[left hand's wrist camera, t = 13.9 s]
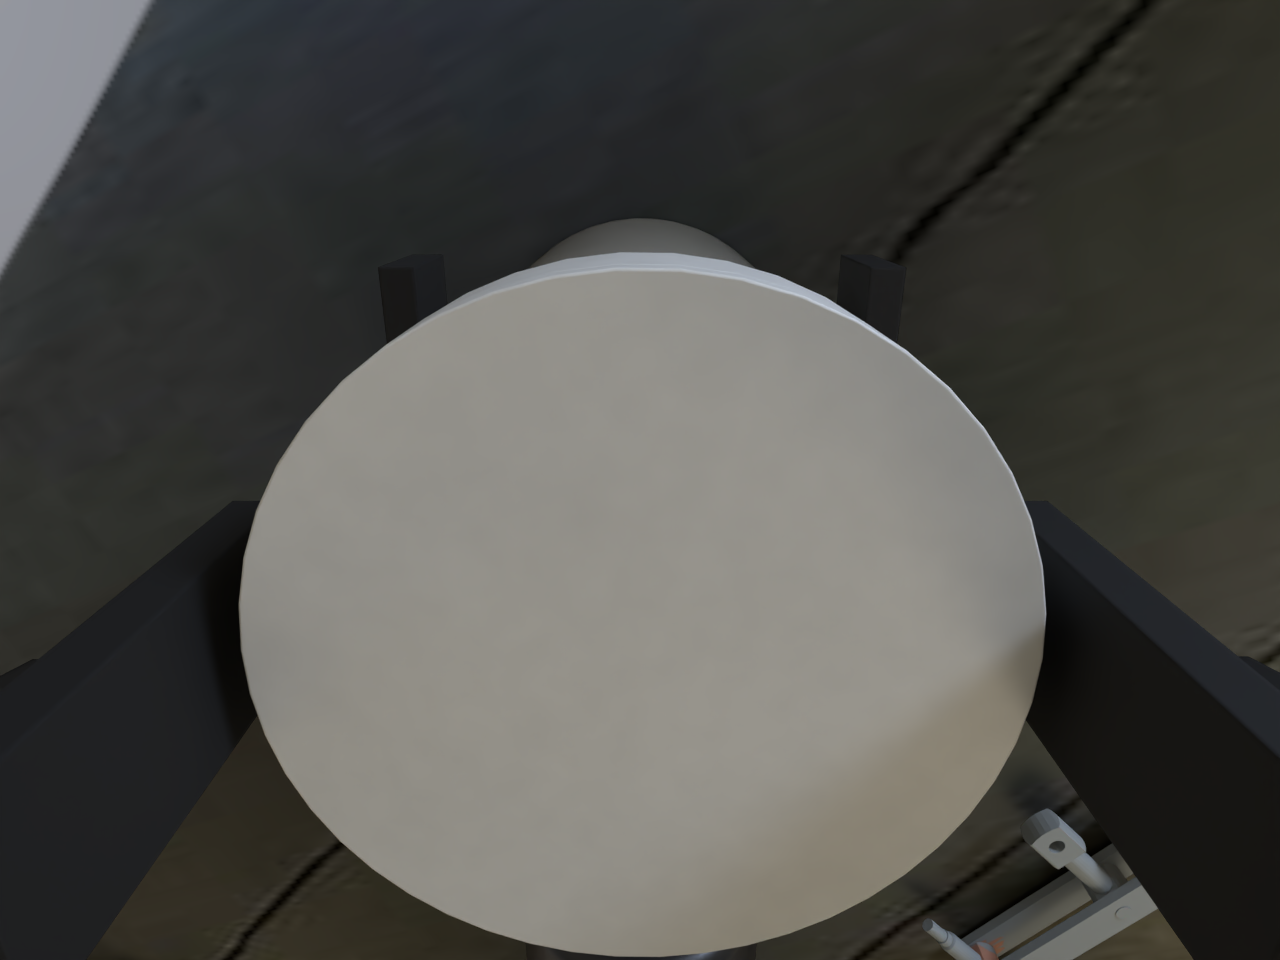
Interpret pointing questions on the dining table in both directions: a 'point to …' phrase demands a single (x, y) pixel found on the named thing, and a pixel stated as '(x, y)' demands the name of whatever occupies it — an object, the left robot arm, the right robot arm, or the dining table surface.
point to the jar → (641, 242)
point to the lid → (642, 608)
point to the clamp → (1058, 902)
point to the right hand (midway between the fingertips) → (641, 260)
